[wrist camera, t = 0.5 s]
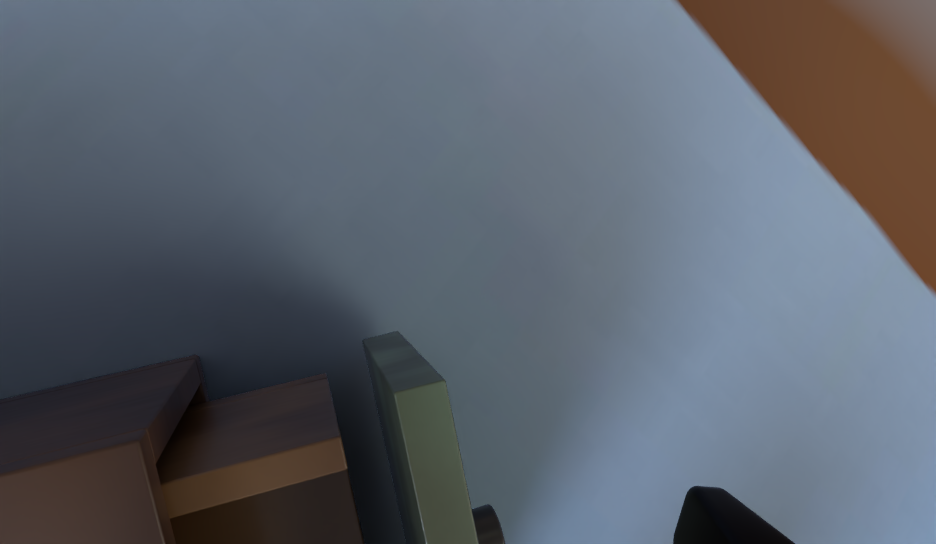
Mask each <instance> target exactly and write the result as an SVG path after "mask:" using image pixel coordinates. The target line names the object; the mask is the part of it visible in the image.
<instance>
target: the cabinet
mask: <svg viewBox="0 0 936 544" xmlns="http://www.w3.org/2000/svg"><path fill="white" fill-rule="evenodd" d="M209 401H210V399H209V395H208V391H207V387H206V383H205V379H204V375H203V371H202V367H201V363H200V359H199V356H198V355H192V356H187V357H183V358H179V359H174V360H170V361H166V362H161V363H157V364H153V365H148V366H144V367H140V368H135V369H131V370H127V371H122V372H118V373H114V374H109V375H105V376H101V377H96V378H92V379H88V380H83V381H79V382H75V383H70V384H66V385H62V386H57V387H53V388H49V389H44V390H40V391H36V392H31V393H27V394H23V395H18V396H14V397H10V398H5V399H1V400H0V544H176V542H175V538H174V534H173V530H172V526H171V523H170V519H169V515H168V511H167V507H166V503H165V499H164V495H163V491H162V488H161V484H160V480H159V476H158V472H157V468H156V464H155V463H156V462H157V461H158V459H159V457H160V455H161V453H162V452H163V450H164V448H165V446H166V444H167V443H168V441H169V439H170V437H171V435H172V434H173V432H174V430H175V428H176V427H177V425H178V423H179V421H180V419H181V418H182V416H183V414H184V412H185V410H186V409H187V407H188V406H192V405H196V404H200V403H205V402H209Z"/></svg>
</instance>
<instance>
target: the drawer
mask: <svg viewBox="0 0 936 544" xmlns="http://www.w3.org/2000/svg"><path fill="white" fill-rule="evenodd" d="M362 342H363V347H364V352H365V356H366V361H367V365H368V370H369V375H370V379H371V384H372V389H373V393H374V398H375V402H376V407H377V412H378V416H379V421H380V425H381V430H382V435H383V439H384V444H385V449H386V453H387V458H388V462H389V467H390V472H391V476H392V481H393V486H394V490H395V495H396V499H397V504H398V509H399V513H400V518H401V522H402V527H403V532H404V536H405V541H406V544H505V540H504V536H503V532H502V528H501V525H500V522H499V520H498V517H497V515H496V512H495V511H494V509H493V507H492V506H491V505H488V504H487V505H484V506H481V507H477V508H474V509H472V508H471V503H470V499H469V494H468V489H467V484H466V479H465V474H464V469H463V464H462V459H461V454H460V449H459V445H458V440H457V435H456V430H455V425H454V420H453V415H452V410H451V405H450V400H449V395H448V391H447V386H446V381H445V380H444V378H443V377H442V376H441V375H440V374H439V373H438V372H437V371H436V370H435V369H434V368H433V367H432V366H431V365H430V364H429V363H428V362H427V361H426V360H425V359H424V358H423V357H422V356H421V355H420V354H419V353H418V351H417V350H416V349H415V348H414V347H413V346H412V345H411V344H410V343H409V342H408V341H407V340H406V339H405V338H404V337H403V336H402V335H401V334H400V333H399V332H398V331H396V332H392V333H387V334H383V335H379V336H375V337H370V338H366V339H363V340H362ZM155 464H156V468H157V472H158V476H159V480H160V484H161V488H162V491H163V495H164V499H165V503H166V507H167V511H168V515H169V519H170V523H171V526H172V530H173V534H174V538H175V542H176V544H365V543H364V538H363V534H362V529H361V525H360V520H359V516H358V511H357V507H356V502H355V498H354V493H353V489H352V484H351V480H350V476H349V471H348V465H347V461H346V456H345V452H344V447H343V443H342V438H341V434H340V430H339V425H338V421H337V417H336V412H335V408H334V403H333V399H332V395H331V390H330V386H329V382H328V377H327V374H326V373H323V374H319V375H315V376H311V377H306V378H302V379H298V380H294V381H290V382H286V383H282V384H278V385H274V386H270V387H266V388H262V389H258V390H253V391H249V392H245V393H241V394H237V395H233V396H229V397H225V398H221V399H217V400H213V401H209V402H205V403H200V404H196V405H192V406H188V407H187V409H186V410H185V412H184V414H183V416H182V418H181V419H180V421H179V423H178V425H177V427H176V428H175V430H174V432H173V434H172V435H171V437H170V439H169V441H168V443H167V444H166V446H165V448H164V450H163V452H162V453H161V455H160V457H159V459H158V461H157V462H156V463H155Z"/></svg>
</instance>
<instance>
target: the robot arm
mask: <svg viewBox="0 0 936 544" xmlns="http://www.w3.org/2000/svg"><path fill="white" fill-rule="evenodd" d="M673 544H795V543H794V542H792V541H791V540H790V539H788V538H787V537H786V536H784V535H783V534H782V533H780V532H779V531H778V530H777V529H775V528H774V527H773V526H771V525H770V524H769V523H767V522H766V521H765V520H763V519H762V518H761V517H760V516H758V515H757V514H756V513H754V512H753V511H752V510H750V509H749V508H748V507H746V506H745V505H744V504H743V503H741V502H740V501H739V500H737V499H736V498H735V497H733V496H732V495H731V494H729V493H728V492H727V491H725V490H724V489H721V488H717V487H704V486H694V487H692V488H690V489H689V491H688V492H687V494H686V497H685V500H684V503H683V507H682V510H681V513H680V516H679V520H678V523H677V526H676V529H675V533H674V539H673Z"/></svg>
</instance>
